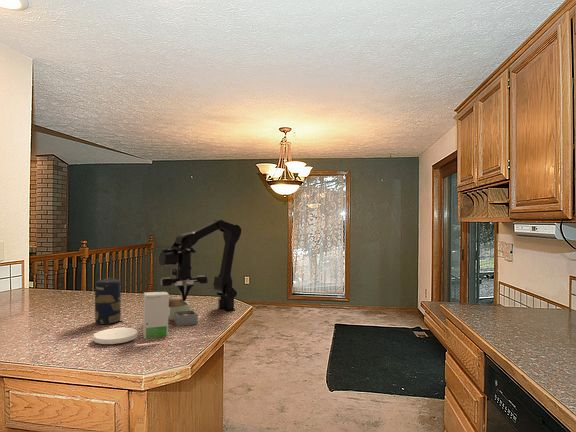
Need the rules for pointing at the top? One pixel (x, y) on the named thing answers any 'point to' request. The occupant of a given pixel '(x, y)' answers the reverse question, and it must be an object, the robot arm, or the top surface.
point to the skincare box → (155, 314)
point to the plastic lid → (115, 335)
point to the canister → (107, 301)
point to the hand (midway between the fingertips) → (184, 300)
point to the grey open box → (186, 318)
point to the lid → (176, 302)
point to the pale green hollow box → (179, 308)
